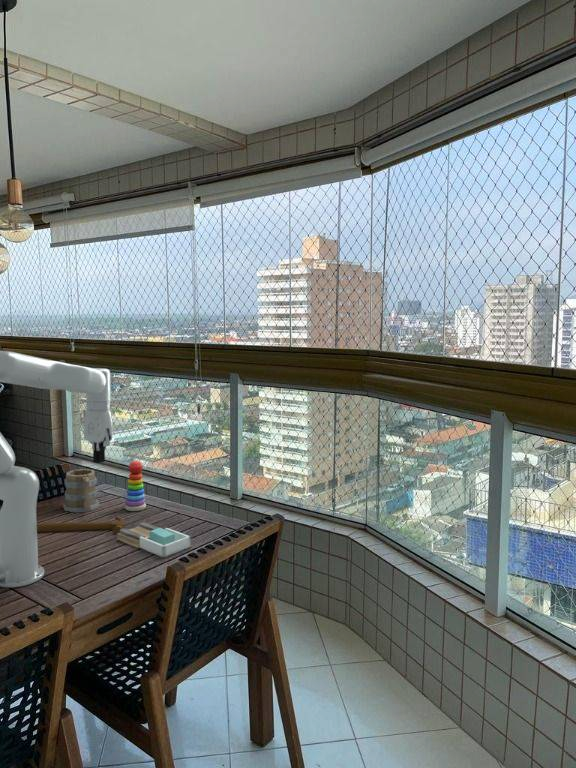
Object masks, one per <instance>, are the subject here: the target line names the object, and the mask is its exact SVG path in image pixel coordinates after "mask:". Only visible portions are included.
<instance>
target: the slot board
mask: <svg viewBox="0 0 576 768" xmlns="http://www.w3.org/2000/svg"><path fill="white" fill-rule="evenodd" d="M158 528H160V526H156V525H154V524H151V523H148V522H145V521H143V522H139V524H138V526H136V527H134V528H133V527H132V528H125V527H124V529H121V530H120V533H117V534H116V540H118V541H120V542H122V543H125V544H127V545H129V546H132V547H133V548H140V537H144V538H147V539H149V540H150V531H152V530H155V529H158Z"/></svg>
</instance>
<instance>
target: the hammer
mask: <svg viewBox="0 0 576 768" xmlns="http://www.w3.org/2000/svg"><path fill="white" fill-rule="evenodd" d="M114 519H115V520H113V521H101V522H91V521H90V522H87V521H85V522H81V521H79V522H77V521H75V522H73V521H72V522H70V521H69V522H47V523H46V522H44V523H43V522H38V523H37V533H56V532H55V531H61V532H80V531H81V532H82V531H83V532H84V531H105V530H107V531H108V530H109V531H110V530H111V531H113V534H115V535H117V533H120V530H121V529H124V528H125V526H126V525H125V519H124V518H121V517H119V516H115V517H114ZM52 531H54V532H52Z"/></svg>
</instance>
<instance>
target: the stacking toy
mask: <svg viewBox="0 0 576 768" xmlns="http://www.w3.org/2000/svg"><path fill="white" fill-rule="evenodd" d="M142 470H143V464H142V463H141V461H138V460H134V461H132V462H131V463H129V465H128V471H129V472H130V473H129V475H128V478H129V479H128V480H127V483H128V484H127V490H126V496H125V497H126V499H125V501H124V503H125V505H124V509H125V510H126V511H128V512H138V511H143V510H144V509H145V508H146V507H147V503H146V499H145V497H146V494H145V489H144V484H143V479H142V478H143V473H141V472H142Z"/></svg>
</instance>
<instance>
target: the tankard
mask: <svg viewBox="0 0 576 768" xmlns="http://www.w3.org/2000/svg"><path fill="white" fill-rule="evenodd" d="M96 485H98V478H97V477H96V471H95V470H94V469H89V468H80V469H72V470H70V471H67V472H66V473H65V478H64V486H65V488H66V490H65V491H64V497H65V500H66V501H65V502H63V503H62V505H63V510H64V511H65V512H67V511H69V512H68V513H74V512H75V513H76V514H78V513H77V512H79V513H83V512H84V513H86V512H91V511H93V510H95V509H98V508H99V507H100V502H99V500H98V499H97V497H98V490H97V488H96ZM85 511H86V512H85ZM75 513H74V514H75Z"/></svg>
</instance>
